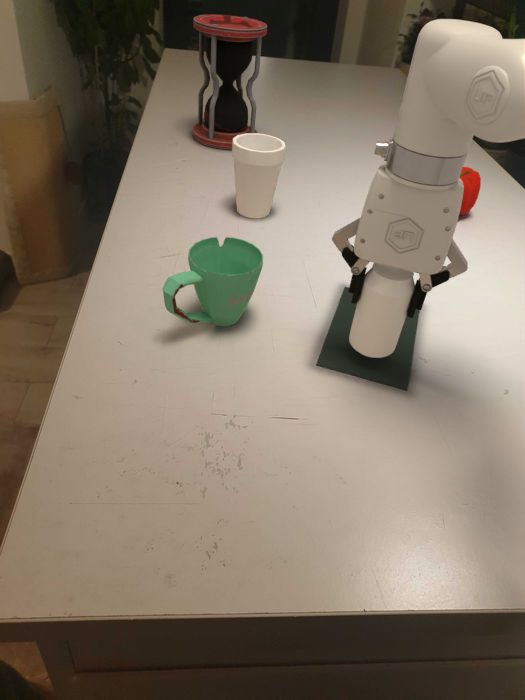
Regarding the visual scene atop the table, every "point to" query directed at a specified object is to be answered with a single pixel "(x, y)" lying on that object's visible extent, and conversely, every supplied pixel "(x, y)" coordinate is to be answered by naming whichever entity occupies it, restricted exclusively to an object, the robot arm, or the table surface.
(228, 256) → the mug
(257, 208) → the foam cup
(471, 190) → the tomato
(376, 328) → the beverage can
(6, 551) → the table surface
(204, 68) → the hourglass
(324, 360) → the mat
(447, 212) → the robot arm
